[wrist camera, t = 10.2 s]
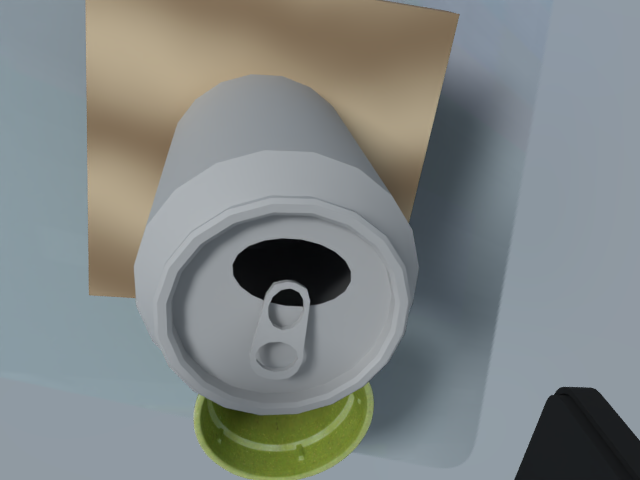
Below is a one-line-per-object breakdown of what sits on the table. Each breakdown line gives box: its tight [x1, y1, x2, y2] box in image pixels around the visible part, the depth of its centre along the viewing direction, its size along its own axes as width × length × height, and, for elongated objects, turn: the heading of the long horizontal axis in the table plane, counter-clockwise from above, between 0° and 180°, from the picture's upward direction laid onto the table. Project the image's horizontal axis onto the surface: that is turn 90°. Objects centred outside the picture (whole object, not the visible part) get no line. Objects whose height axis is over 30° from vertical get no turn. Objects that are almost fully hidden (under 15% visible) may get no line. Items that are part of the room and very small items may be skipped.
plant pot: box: [194, 382, 374, 480], centre depth 34 cm, size 9×9×9 cm
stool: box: [86, 0, 459, 298], centre depth 28 cm, size 14×14×8 cm
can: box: [134, 74, 419, 415], centre depth 19 cm, size 8×8×12 cm
